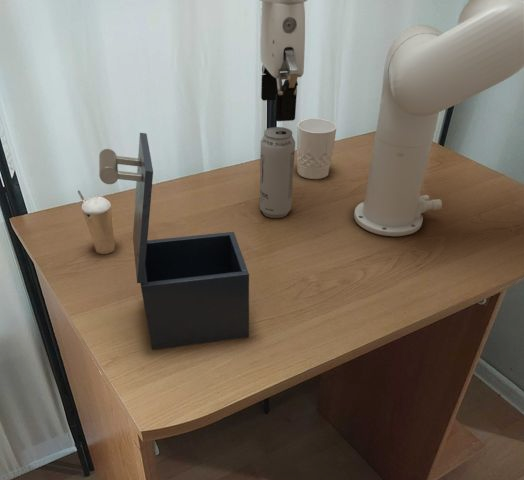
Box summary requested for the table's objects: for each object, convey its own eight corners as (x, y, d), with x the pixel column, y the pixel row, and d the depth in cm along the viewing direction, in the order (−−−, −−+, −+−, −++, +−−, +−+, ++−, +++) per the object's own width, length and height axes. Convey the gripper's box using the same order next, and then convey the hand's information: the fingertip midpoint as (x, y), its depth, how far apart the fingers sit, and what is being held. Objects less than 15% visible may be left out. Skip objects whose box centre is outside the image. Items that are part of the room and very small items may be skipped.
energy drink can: (258, 204, 104) (259, 125, 94) (289, 203, 104) (293, 125, 94) (260, 219, 100) (262, 139, 89) (292, 219, 100) (297, 139, 90)
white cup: (329, 182, 111) (334, 134, 105) (291, 178, 112) (294, 130, 106) (333, 166, 117) (338, 120, 110) (297, 163, 118) (300, 116, 111)
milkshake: (99, 238, 94) (87, 184, 87) (124, 246, 92) (114, 192, 85) (82, 251, 91) (68, 196, 84) (107, 259, 89) (95, 204, 82)
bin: (235, 292, 83) (233, 231, 76) (248, 337, 76) (249, 273, 68) (146, 303, 81) (136, 241, 73) (151, 350, 73) (140, 286, 66)
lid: (146, 133, 64) (99, 127, 62) (153, 171, 56) (99, 165, 55) (138, 238, 73) (97, 235, 71) (143, 283, 66) (97, 281, 64)
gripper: (325, -2, 72) (314, 127, 84) (291, -24, 84) (285, 91, 96) (271, -1, 71) (267, 130, 82) (245, -24, 83) (244, 93, 94)
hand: (277, 109), depth 89 cm, fingers open, 9 cm apart
